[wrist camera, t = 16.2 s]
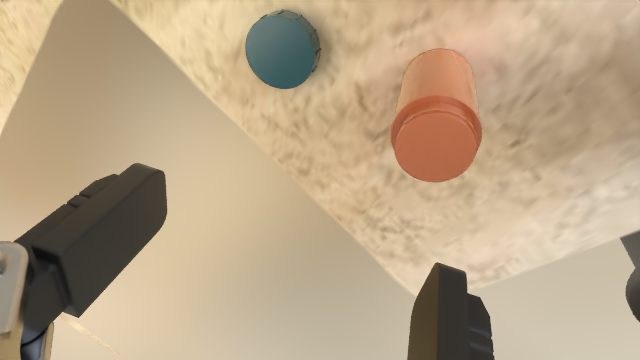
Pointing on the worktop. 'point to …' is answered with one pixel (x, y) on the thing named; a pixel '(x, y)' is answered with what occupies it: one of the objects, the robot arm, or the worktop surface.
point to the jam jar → (437, 117)
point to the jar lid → (283, 49)
